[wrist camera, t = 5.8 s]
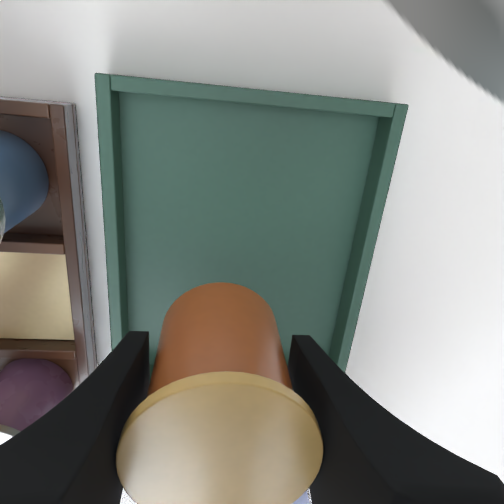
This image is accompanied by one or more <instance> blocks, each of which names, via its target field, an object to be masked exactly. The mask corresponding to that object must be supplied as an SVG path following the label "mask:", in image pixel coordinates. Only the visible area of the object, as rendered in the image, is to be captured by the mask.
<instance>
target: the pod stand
mask: <svg viewBox="0 0 504 504" xmlns="http://www.w3.org/2000/svg"><path fill="white" fill-rule="evenodd" d="M0 130H2V131H6V132H9V133H11V134H14V135H15V136H17V137H19V138H21V139H22V140H24V141H25V142H26V143H28V144H29V145H30V146H31V147H32V148H33V149H34V150H35V151H36V152H37V154H38V155H39V156H40V158H41V159H42V161H43V163H44V165H45V167H46V170H47V174H48V179H49V188H48V193H47V197H46V199H45V201H44V203H43V204H42V205H41V207H40V208H39V209H38V210H36V211H35V212H34V213H32V214H31V215H30V216H28V217H27V218H25V219H24V220H22V221H21V222H20V223H18V224H17V225H15V226H14V227H12V228H11V229H10V230H8V231H7V232H5V233H4V235H3V238H2V241H1V243H0V371H1V370H2V369H3V368H4V367H5V366H6V365H7V364H9V363H11V362H12V361H15V360H18V359H22V358H25V359H44V360H48V361H50V362H53V363H55V364H56V365H58V366H60V367H61V368H62V369H63V370H64V371H65V372H66V373H67V374H68V375H69V377H70V379H71V381H72V385H73V390H74V389H75V388H76V387H78V386H79V385H80V384H81V383H82V382H83V381H84V380H85V379H86V378H87V377H88V376H89V375H90V374H91V373H92V372H93V371H94V370H95V369H96V368H97V362H96V350H95V338H94V326H93V314H92V302H91V290H90V278H89V266H88V254H87V242H86V230H85V218H84V205H83V193H82V181H81V169H80V157H79V145H78V133H77V121H76V109H75V104H74V103H65V102H54V101H43V100H32V99H21V98H10V97H0Z"/></svg>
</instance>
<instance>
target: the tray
mask: <svg viewBox="0 0 504 504" xmlns="http://www.w3.org/2000/svg"><path fill="white" fill-rule="evenodd" d="M95 90H96V106H97V122H98V138H99V154H100V170H101V186H102V202H103V218H104V234H105V250H106V266H107V282H108V298H109V314H110V330H111V346H112V350H113V349H114V348H115V347H116V346H117V345H118V343H119V342H120V341H121V340H122V339H123V337H124V336H125V335H126V334H127V333H128V332H129V331H149V363H150V379H151V375H152V370H153V366H154V361H155V357H156V352H157V348H158V343H159V339H160V334H161V330H162V325H163V321H164V318H165V315H166V313H167V311H168V310H169V308H170V306H171V305H172V304H173V303H174V301H176V300H177V299H178V298H179V297H180V296H181V295H183V294H184V293H185V292H187V291H189V290H191V289H193V288H195V287H198V286H200V285H204V284H208V283H218V282H225V283H233V284H237V285H241V286H244V287H246V288H248V289H250V290H252V291H254V292H255V293H257V294H258V295H260V296H261V297H262V298H263V299H264V300H265V301H266V302H267V303H268V305H269V306H270V308H271V309H272V312H273V314H274V316H275V320H276V324H277V328H278V332H279V336H280V340H281V344H282V348H283V352H284V356H285V360H286V364H287V365H288V359H289V353H290V347H291V340H292V335H310V336H311V337H312V338H313V339H314V340H315V341H316V343H317V344H318V345H319V346H320V347H321V348H322V349H323V350H324V351H325V353H326V354H327V355H328V356H329V357H330V358H331V359H332V360H333V361H334V362H335V363H336V365H337V366H338V367H339V368H340V369H341V370H342V371H343V372H344V373H345V370H346V366H347V362H348V358H349V354H350V349H351V345H352V341H353V337H354V333H355V328H356V324H357V320H358V316H359V312H360V307H361V303H362V299H363V295H364V290H365V286H366V282H367V278H368V274H369V269H370V265H371V261H372V257H373V253H374V248H375V244H376V240H377V236H378V232H379V227H380V223H381V219H382V215H383V211H384V206H385V202H386V198H387V194H388V190H389V185H390V181H391V177H392V173H393V168H394V164H395V160H396V156H397V152H398V147H399V143H400V139H401V135H402V131H403V126H404V122H405V118H406V114H407V110H408V105H407V104H398V103H388V102H378V101H369V100H359V99H349V98H339V97H329V96H319V95H309V94H300V93H290V92H280V91H270V90H260V89H250V88H240V87H230V86H221V85H211V84H201V83H191V82H181V81H171V80H161V79H152V78H142V77H132V76H122V75H112V74H102V73H95ZM149 384H150V382H149Z"/></svg>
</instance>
